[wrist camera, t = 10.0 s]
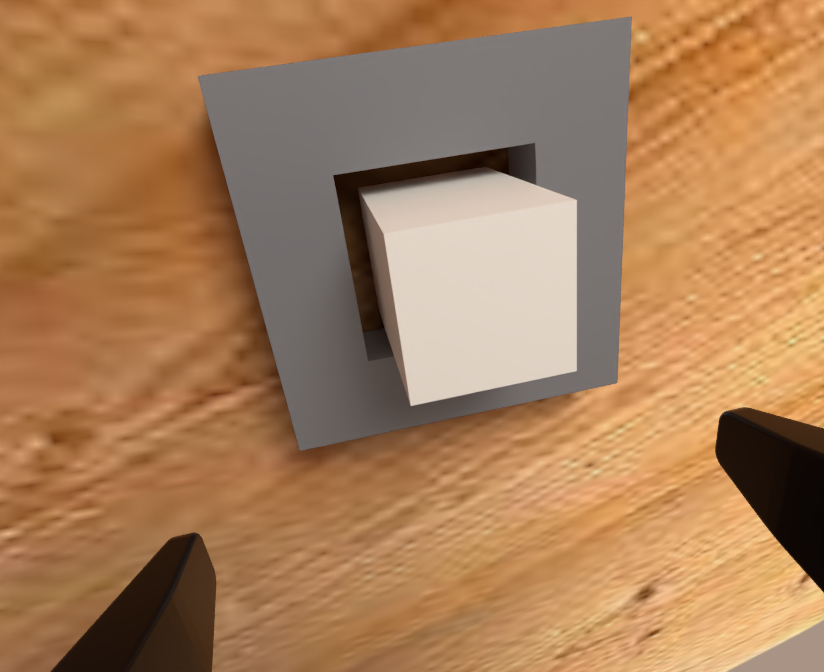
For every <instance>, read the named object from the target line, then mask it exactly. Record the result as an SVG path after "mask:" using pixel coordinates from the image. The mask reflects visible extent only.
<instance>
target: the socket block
mask: <svg viewBox="0 0 824 672" xmlns="http://www.w3.org/2000/svg"><path fill="white" fill-rule="evenodd" d="M631 21H632V17H625V18H618V19H611V20H603V21H596V22H589V23H581V24H574V25H567V26H560V27H552V28H545V29H538V30H530V31H523V32H516V33H508V34H501V35H494V36H486V37H479V38H472V39H465V40H457V41H450V42H443V43H435V44H428V45H421V46H413V47H406V48H399V49H392V50H384V51H377V52H370V53H362V54H355V55H348V56H340V57H333V58H326V59H318V60H311V61H304V62H297V63H289V64H282V65H275V66H267V67H260V68H253V69H245V70H238V71H231V72H223V73H216V74H209V75H202V76H198V79H199V83H200V87H201V90H202V94H203V98H204V101H205V105H206V109H207V112H208V116H209V120H210V123H211V127H212V131H213V134H214V138H215V142H216V145H217V149H218V153H219V156H220V160H221V164H222V167H223V171H224V175H225V178H226V182H227V186H228V189H229V193H230V197H231V200H232V204H233V208H234V211H235V215H236V219H237V222H238V226H239V230H240V233H241V237H242V241H243V244H244V248H245V252H246V255H247V259H248V263H249V266H250V270H251V274H252V277H253V281H254V285H255V288H256V292H257V296H258V299H259V303H260V307H261V310H262V314H263V318H264V321H265V325H266V329H267V332H268V336H269V340H270V343H271V347H272V351H273V354H274V358H275V362H276V365H277V369H278V373H279V376H280V380H281V384H282V387H283V391H284V395H285V398H286V402H287V406H288V409H289V413H290V417H291V420H292V424H293V428H294V431H295V435H296V439H297V442H298V446H299V450H300V451H302V450H307V449H311V448H316V447H321V446H325V445H330V444H335V443H339V442H344V441H349V440H354V439H358V438H363V437H368V436H372V435H377V434H382V433H386V432H391V431H396V430H400V429H405V428H410V427H414V426H419V425H424V424H428V423H433V422H438V421H442V420H447V419H452V418H456V417H461V416H466V415H470V414H475V413H480V412H485V411H489V410H494V409H499V408H503V407H508V406H513V405H517V404H522V403H527V402H531V401H536V400H541V399H545V398H550V397H555V396H559V395H564V394H569V393H573V392H578V391H583V390H587V389H592V388H597V387H601V386H606V385H611V384H615V383H617V379H618V353H619V328H620V302H621V277H622V251H623V226H624V200H625V174H626V149H627V123H628V98H629V72H630V47H631ZM506 147H508V163H509V176H512V177H515V178H518V179H520V180H523V181H526V182H529V183H531V184H534V185H537V186H540V187H542V188H545V189H548V190H551V191H553V192H556V193H559V194H562V195H564V196H567V197H570V198H573V199H575V200H577V371H575V372H570V373H565V374H561V375H556V376H551V377H546V378H542V379H537V380H532V381H527V382H523V383H518V384H513V385H508V386H504V387H499V388H494V389H489V390H485V391H480V392H475V393H470V394H466V395H461V396H456V397H451V398H447V399H442V400H437V401H432V402H428V403H423V404H418V405H413V406H411V405H410V402H409V399H408V396H407V393H406V390H405V387H404V384H403V381H402V378H401V375H400V372H399V369H398V366H397V363H396V360H395V357H394V354H393V351H392V348H391V345H390V342H389V339H388V336H387V333H386V330H385V328H382V329H376V330H371V331H366V332H363V331H362V326H361V320H360V315H359V310H358V304H357V299H356V294H355V289H354V283H353V278H352V273H351V267H350V262H349V257H348V251H347V246H346V241H345V235H344V230H343V225H342V220H341V214H340V209H339V204H338V198H337V193H336V188H335V182H334V177H333V175H338V174H344V173H350V172H356V171H363V170H369V169H375V168H381V167H388V166H394V165H400V164H406V163H412V162H419V161H425V160H431V159H437V158H444V157H450V156H456V155H462V154H469V153H475V152H481V151H487V150H494V149H500V148H506Z"/></svg>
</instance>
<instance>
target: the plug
mask: <svg viewBox="0 0 824 672" xmlns="http://www.w3.org/2000/svg"><path fill="white" fill-rule="evenodd" d="M358 193H359V198H360V204H361V210H362V216H363V222H364V228H365V233H366V239H367V245H368V251H369V257H370V262H371V268H372V274H373V280H374V286H375V291H376V297H377V303H378V309H379V312H380V315H381V318H382V321H383V324H384V327H385V330H386V333H387V336H388V339H389V342H390V345H391V348H392V351H393V354H394V357H395V360H396V363H397V366H398V369H399V372H400V375H401V378H402V381H403V384H404V387H405V390H406V393H407V396H408V399H409V402H410V405H411V406H413V405H418V404H423V403H428V402H432V401H437V400H442V399H447V398H451V397H456V396H461V395H466V394H470V393H475V392H480V391H485V390H489V389H494V388H499V387H504V386H508V385H513V384H518V383H523V382H527V381H532V380H537V379H542V378H546V377H551V376H556V375H561V374H565V373H570V372H575V371H577V200H575V199H573V198H570V197H567V196H564V195H562V194H559V193H556V192H553V191H551V190H548V189H545V188H542V187H540V186H537V185H534V184H531V183H529V182H526V181H523V180H520V179H518V178H515V177H512V176H509V175H507V174H504V173H501V172H498V171H496V170H493V169H490V168H487V167H481V168H475V169H469V170H463V171H457V172H451V173H444V174H438V175H432V176H426V177H420V178H414V179H408V180H402V181H396V182H390V183H384V184H378V185H372V186H365V187H359V188H358Z"/></svg>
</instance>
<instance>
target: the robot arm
mask: <svg viewBox="0 0 824 672" xmlns="http://www.w3.org/2000/svg"><path fill="white" fill-rule="evenodd" d="M715 452H716V457H717V459H718V462H719V463H720V465H721V466H722V468H723V469H724V470H725V472H726V473H727V474H728V476H729V477H730V479H731V480H732V481H733V483H734V484H735V485H736V487H737V488H738V489H739V491H740V492H741V493H742V495H743V496H744V497H745V499H746V500H747V501H748V503H749V504H750V505H751V507H752V508H753V509H754V511H755V512H756V513H757V515H758V516H759V517H760V519H761V520H762V522H763V523H764V524H765V525H766V527H767V528H768V529H769V531H770V532H771V533H772V534H773V536H774V537H775V538H776V539H777V540H778V542H779V543H780V544H781V545H782V546H783V548H784V549H785V550H786V551H787V552H788V553H789V554H790V555H791V557H792V558H793V559H794V560H795V561H796V562H797V563H798V564H799V565H800V567H801V568H802V569H803V570H804V571H805V572H806V573H807V574H808V576H809V577H810V578H811V579H812V580H813V581H814V582H815V583H816V584H817V586H818V587H819V588H820V589H821V590H822V591H823V592H824V428H820V427H816V426H813V425H809V424H806V423H802V422H798V421H795V420H791V419H788V418H784V417H780V416H777V415H773V414H770V413H766V412H762V411H759V410H755V409H752V408H747V407H743V408H738V409H734V410H729V411H726V412H724V413H722V415H721V416H720V418H719V424H718V432H717V439H716V447H715ZM215 599H216V575H215V570H214V567H213V565H212V562H211V560H210V557H209V555H208V552H207V549H206V547H205V544H204V542H203V539H202V537H201V536H200V535H199V534H198V533H189V534H185V535H181V536H176V537H173V538H171V539H170V540H168V541H167V542H166V543H165V545H164V546H163V547H162V548H161V549H160V550H159V551H158V552H157V553H156V555H155V556H154V557H153V558H152V559H151V560H150V561H149V562H148V564H147V565H146V566H145V567H144V568H143V569H142V570H141V571H140V572H139V574H138V575H137V576H136V577H135V578H134V579H133V580H132V581H131V582H130V584H129V585H128V586H127V587H126V588H125V589H124V590H123V591H122V592H121V594H120V595H119V596H118V597H117V598H116V599H115V600H114V601H113V603H112V604H111V605H110V606H109V607H108V608H107V609H106V610H105V611H104V613H103V614H102V615H101V616H100V617H99V618H98V619H97V620H96V621H95V623H94V624H93V625H92V626H91V627H90V628H89V629H88V630H87V632H86V633H85V634H84V635H83V636H82V637H81V638H80V639H79V640H78V642H77V643H76V644H75V645H74V646H73V647H72V648H71V649H70V650H69V652H68V653H67V654H66V655H65V656H64V657H63V658H62V659H61V661H60V662H59V663H58V664H57V665H56V666H55V667H54V668H53V669H52V671H51V672H212V658H213V639H214V619H215Z"/></svg>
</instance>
